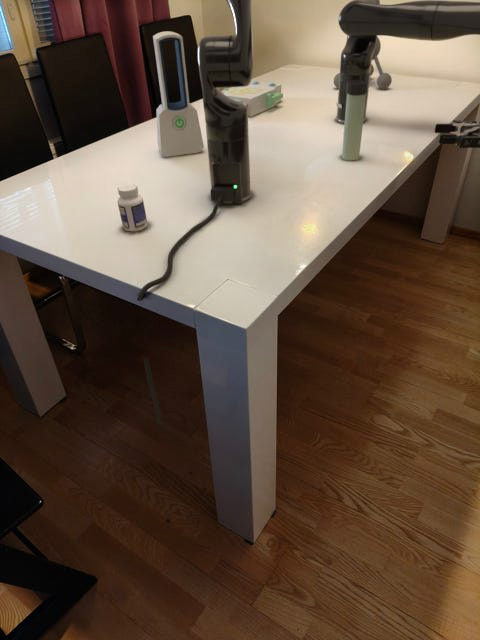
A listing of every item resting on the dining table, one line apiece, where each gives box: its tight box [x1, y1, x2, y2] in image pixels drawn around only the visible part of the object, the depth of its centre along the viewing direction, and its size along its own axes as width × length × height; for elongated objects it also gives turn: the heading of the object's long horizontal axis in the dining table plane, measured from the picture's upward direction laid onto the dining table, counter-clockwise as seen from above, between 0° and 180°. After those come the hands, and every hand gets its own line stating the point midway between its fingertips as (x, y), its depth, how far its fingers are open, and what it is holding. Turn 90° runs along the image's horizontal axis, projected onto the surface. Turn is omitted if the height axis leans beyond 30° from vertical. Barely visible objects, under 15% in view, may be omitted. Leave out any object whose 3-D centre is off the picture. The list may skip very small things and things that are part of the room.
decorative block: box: [222, 80, 284, 118], centre depth 173 cm, size 26×6×20 cm
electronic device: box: [152, 30, 205, 158], centre depth 133 cm, size 12×8×30 cm, turn 105°
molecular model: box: [333, 0, 393, 90], centre depth 184 cm, size 24×22×30 cm
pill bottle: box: [117, 182, 148, 232], centre depth 102 cm, size 5×5×9 cm
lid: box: [346, 80, 368, 95], centre depth 121 cm, size 5×5×2 cm
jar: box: [341, 93, 366, 162], centre depth 126 cm, size 5×5×18 cm
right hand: (437, 133), depth 124 cm, fingers open, 8 cm apart
